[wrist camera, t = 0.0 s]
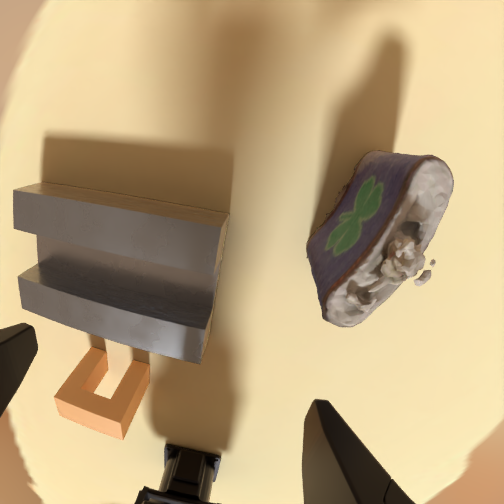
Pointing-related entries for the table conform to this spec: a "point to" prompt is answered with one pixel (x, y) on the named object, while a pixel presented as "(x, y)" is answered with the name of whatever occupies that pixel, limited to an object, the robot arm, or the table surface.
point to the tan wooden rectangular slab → (97, 407)
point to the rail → (122, 266)
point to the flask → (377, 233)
